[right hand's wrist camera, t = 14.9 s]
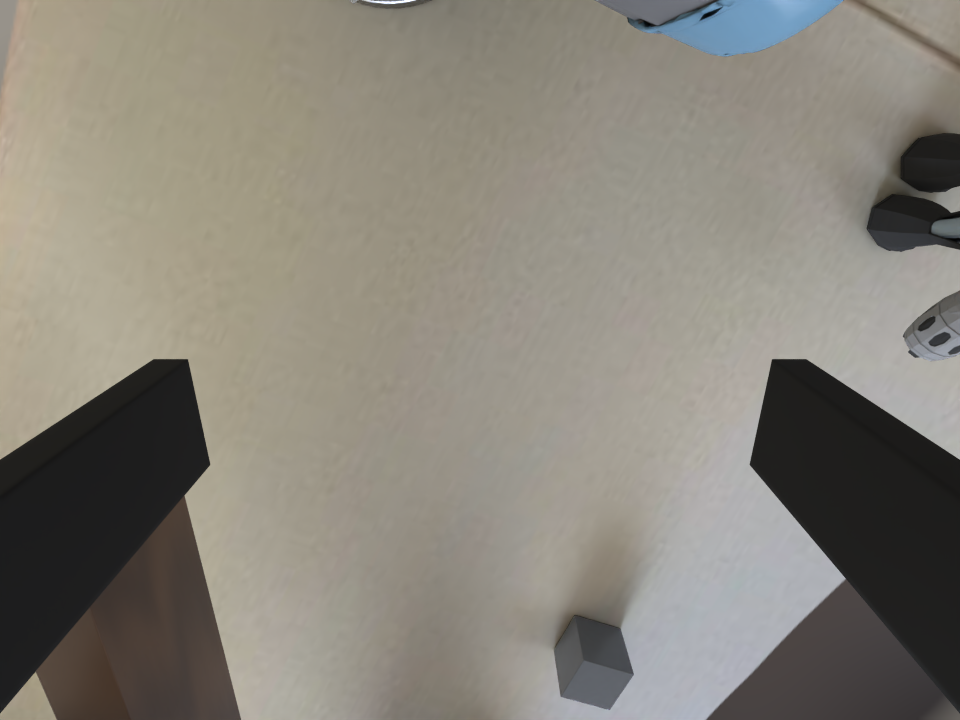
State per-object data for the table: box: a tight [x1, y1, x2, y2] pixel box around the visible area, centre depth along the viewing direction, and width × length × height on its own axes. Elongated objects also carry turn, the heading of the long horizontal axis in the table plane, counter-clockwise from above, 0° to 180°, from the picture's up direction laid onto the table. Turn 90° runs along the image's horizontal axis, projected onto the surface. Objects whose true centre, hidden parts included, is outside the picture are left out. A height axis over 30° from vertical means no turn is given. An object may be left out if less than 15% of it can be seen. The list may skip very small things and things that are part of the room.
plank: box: [36, 496, 241, 720], centre depth 34 cm, size 26×4×9 cm, turn 0°
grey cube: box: [554, 615, 634, 710], centre depth 51 cm, size 5×5×5 cm
